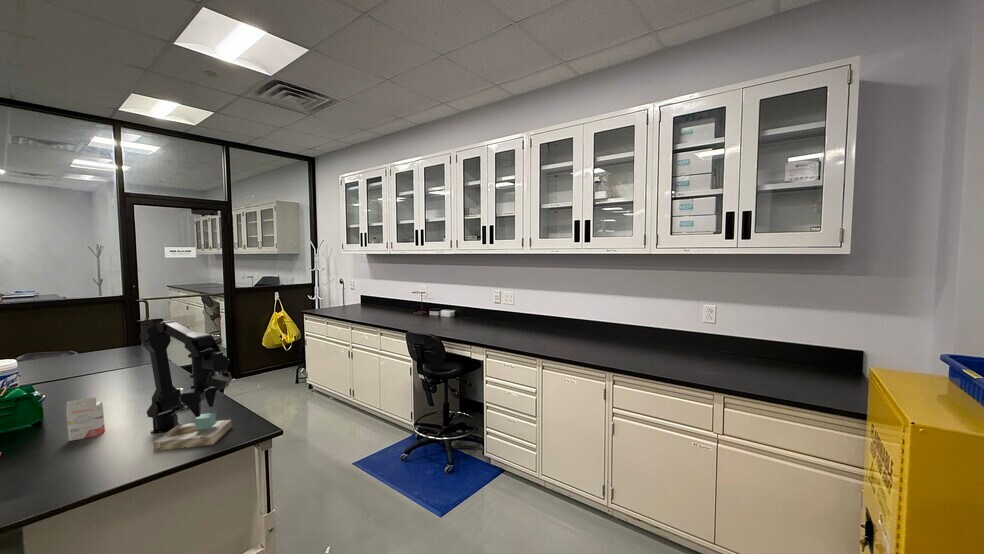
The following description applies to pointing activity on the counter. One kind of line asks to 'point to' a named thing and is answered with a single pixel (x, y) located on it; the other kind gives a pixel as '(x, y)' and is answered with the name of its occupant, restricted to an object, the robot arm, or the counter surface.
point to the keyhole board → (193, 442)
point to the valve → (181, 393)
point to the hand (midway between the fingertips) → (204, 411)
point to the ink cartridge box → (84, 419)
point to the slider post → (205, 421)
